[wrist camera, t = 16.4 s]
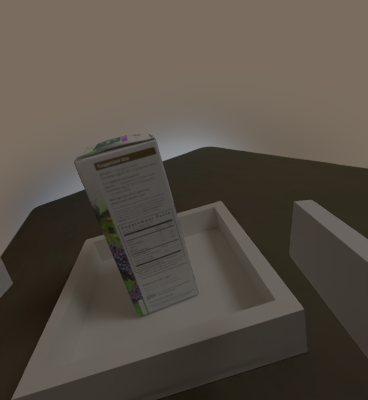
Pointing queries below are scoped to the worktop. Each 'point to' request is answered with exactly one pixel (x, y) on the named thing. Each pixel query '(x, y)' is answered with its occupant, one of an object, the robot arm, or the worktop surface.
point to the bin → (166, 322)
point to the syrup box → (138, 220)
